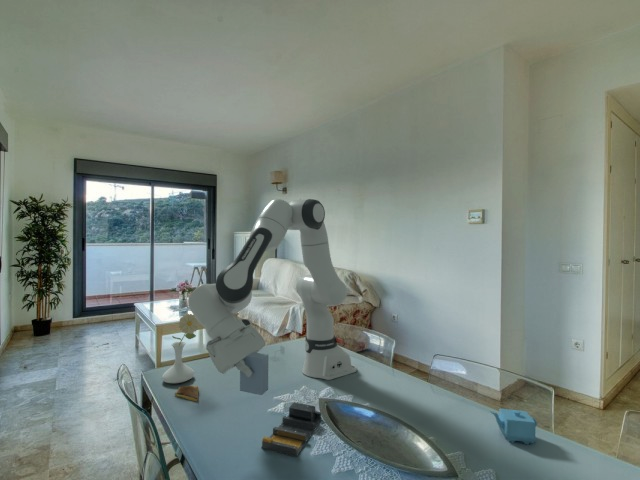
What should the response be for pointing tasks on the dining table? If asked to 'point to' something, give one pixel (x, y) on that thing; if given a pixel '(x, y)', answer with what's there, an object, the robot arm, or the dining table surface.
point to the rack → (293, 430)
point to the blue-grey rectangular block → (255, 374)
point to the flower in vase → (180, 370)
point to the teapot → (516, 425)
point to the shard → (188, 392)
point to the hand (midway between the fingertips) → (256, 371)
